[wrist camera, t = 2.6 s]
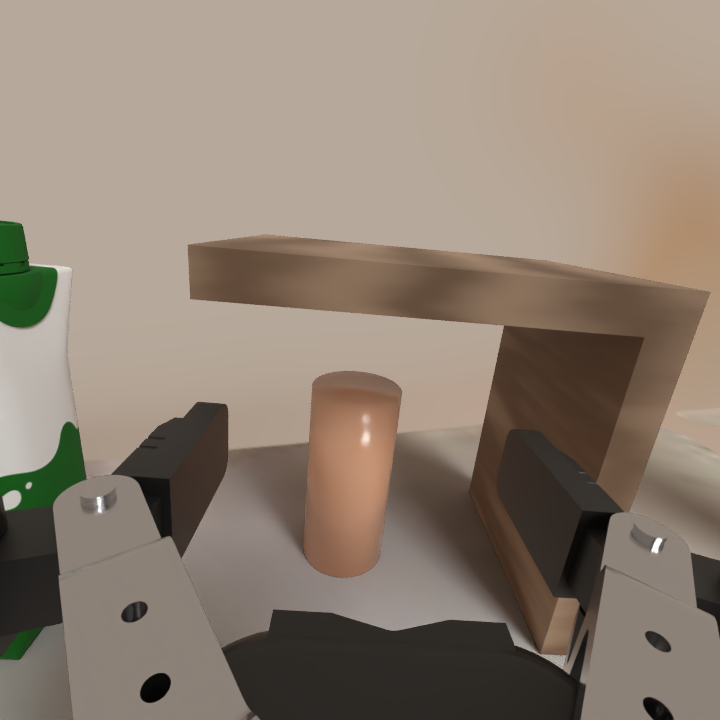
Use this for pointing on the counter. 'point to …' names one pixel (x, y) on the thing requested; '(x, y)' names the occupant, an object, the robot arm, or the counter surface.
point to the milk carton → (34, 387)
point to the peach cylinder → (349, 470)
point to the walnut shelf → (502, 358)
